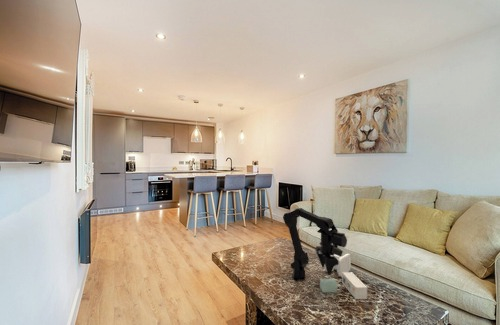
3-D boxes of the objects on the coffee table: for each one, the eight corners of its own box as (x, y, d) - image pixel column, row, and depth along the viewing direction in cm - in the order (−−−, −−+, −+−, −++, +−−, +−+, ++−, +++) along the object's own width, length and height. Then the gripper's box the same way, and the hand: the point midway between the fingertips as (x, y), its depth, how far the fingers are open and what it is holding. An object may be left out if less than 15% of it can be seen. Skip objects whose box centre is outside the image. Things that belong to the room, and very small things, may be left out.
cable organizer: (339, 279, 137) (340, 259, 137) (323, 272, 145) (324, 254, 145) (350, 271, 148) (351, 253, 148) (335, 265, 155) (335, 248, 155)
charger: (322, 292, 122) (323, 283, 122) (319, 287, 127) (320, 278, 127) (341, 292, 123) (342, 282, 123) (338, 287, 127) (338, 278, 127)
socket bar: (355, 299, 117) (355, 287, 117) (341, 282, 133) (341, 272, 133) (367, 299, 118) (367, 287, 118) (351, 282, 134) (352, 272, 134)
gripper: (348, 248, 116) (348, 279, 116) (333, 236, 134) (333, 263, 134) (327, 248, 115) (326, 279, 115) (315, 236, 134) (314, 263, 134)
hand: (326, 270), depth 125 cm, fingers open, 9 cm apart
